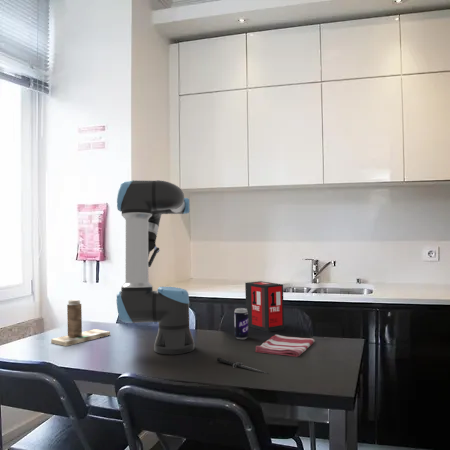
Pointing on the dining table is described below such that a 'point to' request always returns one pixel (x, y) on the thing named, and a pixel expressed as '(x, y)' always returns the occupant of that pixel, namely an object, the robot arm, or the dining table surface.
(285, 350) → the dish towel
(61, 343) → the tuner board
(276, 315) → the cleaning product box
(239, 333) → the beverage can
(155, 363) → the dining table surface
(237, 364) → the knife
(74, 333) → the brown cylinder
